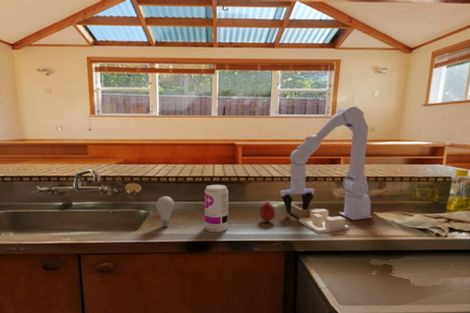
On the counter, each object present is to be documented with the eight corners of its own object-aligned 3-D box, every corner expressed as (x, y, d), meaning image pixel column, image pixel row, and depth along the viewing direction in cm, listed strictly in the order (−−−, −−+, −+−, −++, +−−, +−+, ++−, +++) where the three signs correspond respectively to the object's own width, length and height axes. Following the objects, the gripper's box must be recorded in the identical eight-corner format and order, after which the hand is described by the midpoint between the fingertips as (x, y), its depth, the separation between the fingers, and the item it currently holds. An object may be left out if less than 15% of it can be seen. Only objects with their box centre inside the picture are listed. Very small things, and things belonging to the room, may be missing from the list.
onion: (274, 225, 94) (274, 203, 93) (258, 223, 95) (258, 202, 94) (274, 219, 100) (275, 199, 99) (260, 218, 101) (260, 198, 100)
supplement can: (210, 234, 85) (210, 190, 83) (201, 226, 92) (201, 185, 91) (231, 230, 89) (232, 188, 87) (221, 222, 96) (222, 183, 94)
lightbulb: (177, 224, 94) (177, 195, 93) (168, 230, 88) (167, 199, 87) (163, 222, 96) (162, 193, 95) (153, 228, 90) (152, 197, 89)
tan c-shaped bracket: (304, 209, 112) (305, 202, 112) (319, 217, 103) (319, 209, 102) (288, 211, 110) (288, 203, 110) (301, 219, 100) (302, 211, 100)
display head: (327, 218, 102) (327, 208, 102) (349, 229, 91) (349, 218, 90) (298, 221, 98) (299, 211, 98) (317, 233, 87) (318, 221, 86)
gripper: (307, 176, 110) (306, 207, 111) (277, 178, 105) (276, 210, 107) (317, 179, 103) (316, 212, 104) (285, 181, 99) (284, 215, 100)
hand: (296, 211), depth 105 cm, fingers open, 7 cm apart
